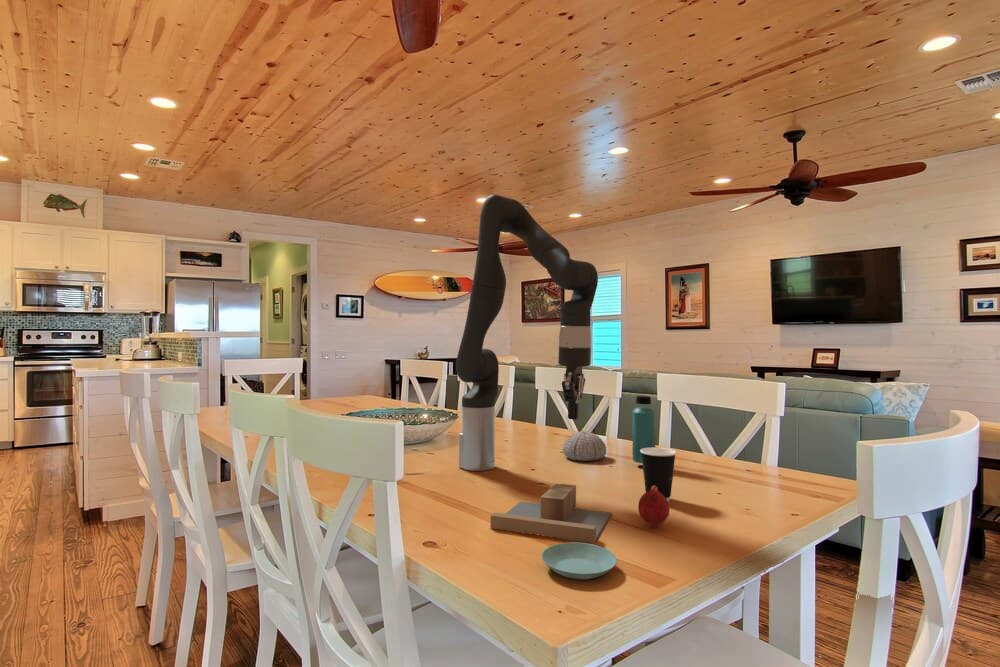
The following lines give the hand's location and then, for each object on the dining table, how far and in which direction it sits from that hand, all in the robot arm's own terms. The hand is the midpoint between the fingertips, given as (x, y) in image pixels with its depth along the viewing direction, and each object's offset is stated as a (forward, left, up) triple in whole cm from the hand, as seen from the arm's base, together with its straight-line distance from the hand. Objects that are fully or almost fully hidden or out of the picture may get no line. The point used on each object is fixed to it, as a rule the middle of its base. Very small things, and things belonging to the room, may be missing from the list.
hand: (573, 418), depth 129 cm
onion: (+20, -17, -18) cm, 32 cm away
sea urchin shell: (-6, +37, -18) cm, 42 cm away
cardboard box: (+1, -11, -15) cm, 18 cm away
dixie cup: (+19, +2, -18) cm, 26 cm away
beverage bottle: (+12, +33, -18) cm, 40 cm away
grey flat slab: (+1, -20, -17) cm, 26 cm away
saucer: (+11, -41, -18) cm, 46 cm away
